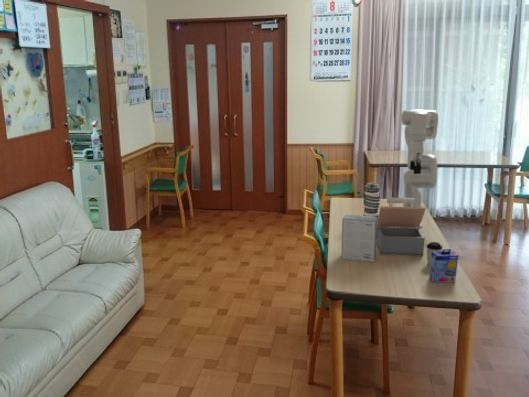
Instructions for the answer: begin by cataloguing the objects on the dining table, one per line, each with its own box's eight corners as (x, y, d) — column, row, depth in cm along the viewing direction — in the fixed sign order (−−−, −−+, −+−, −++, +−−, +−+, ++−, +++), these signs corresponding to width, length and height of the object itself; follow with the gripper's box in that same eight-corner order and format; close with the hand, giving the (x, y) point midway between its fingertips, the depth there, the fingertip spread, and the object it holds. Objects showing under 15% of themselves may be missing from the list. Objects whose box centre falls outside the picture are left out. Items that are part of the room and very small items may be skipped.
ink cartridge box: (433, 283, 213) (436, 250, 209) (428, 277, 218) (431, 246, 215) (456, 282, 214) (459, 249, 210) (450, 276, 219) (453, 245, 215)
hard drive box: (376, 256, 242) (378, 216, 237) (374, 262, 235) (376, 221, 230) (343, 253, 247) (345, 213, 242) (340, 258, 240) (342, 218, 235)
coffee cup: (438, 268, 228) (440, 247, 225) (423, 265, 231) (424, 244, 229) (442, 263, 234) (444, 243, 231) (427, 260, 237) (428, 240, 235)
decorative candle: (362, 223, 292) (364, 181, 285) (379, 224, 289) (381, 182, 283) (361, 228, 283) (363, 184, 277) (378, 229, 281) (380, 185, 274)
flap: (376, 226, 257) (375, 213, 262) (419, 227, 255) (417, 213, 260) (380, 208, 244) (379, 194, 249) (425, 209, 242) (423, 194, 247)
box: (376, 243, 259) (377, 226, 257) (416, 244, 258) (418, 227, 255) (380, 254, 245) (381, 236, 243) (423, 255, 243) (424, 237, 241)
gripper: (406, 135, 259) (404, 168, 264) (413, 140, 243) (410, 175, 247) (421, 135, 259) (419, 168, 263) (429, 140, 242) (426, 175, 247)
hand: (415, 171), depth 255 cm, fingers open, 9 cm apart
